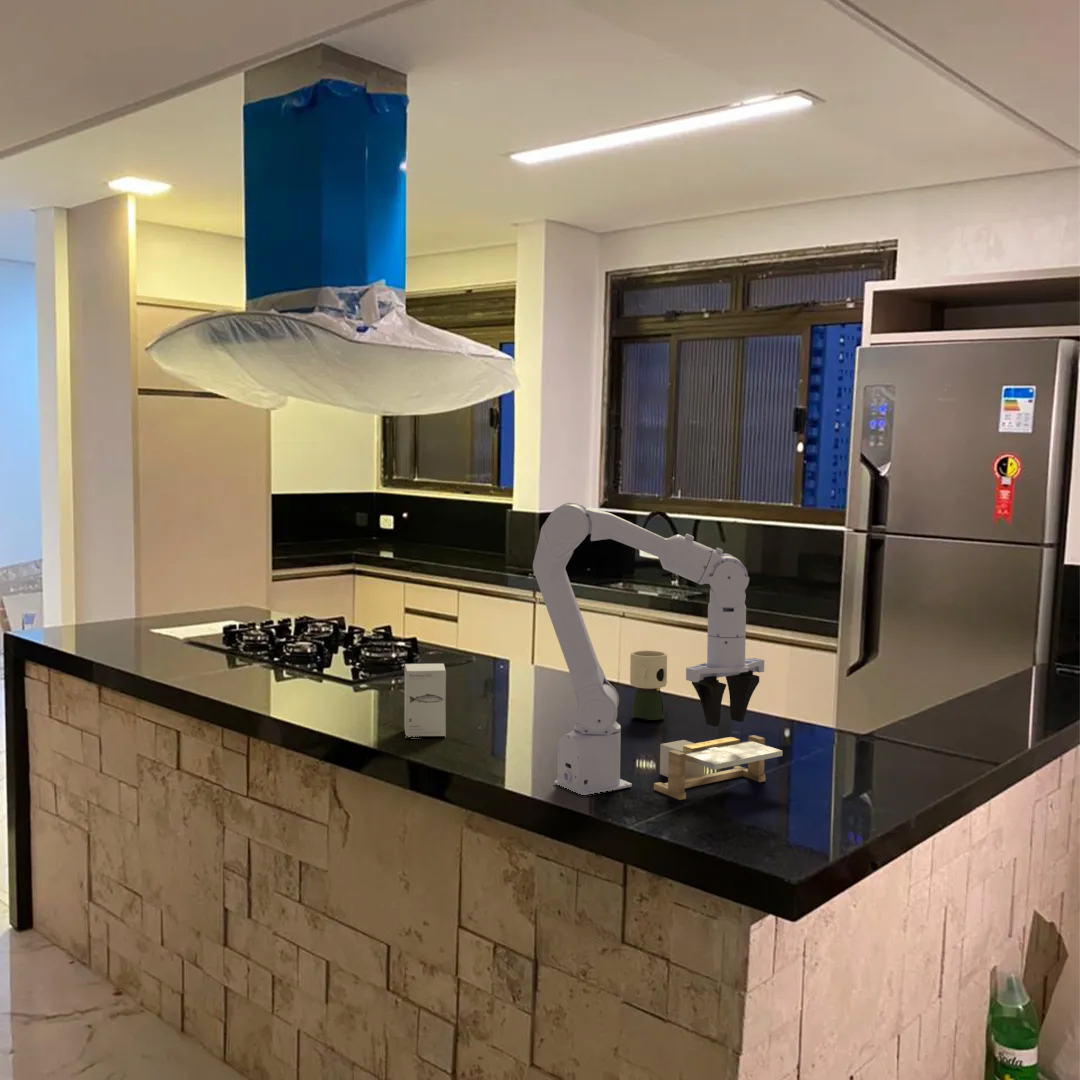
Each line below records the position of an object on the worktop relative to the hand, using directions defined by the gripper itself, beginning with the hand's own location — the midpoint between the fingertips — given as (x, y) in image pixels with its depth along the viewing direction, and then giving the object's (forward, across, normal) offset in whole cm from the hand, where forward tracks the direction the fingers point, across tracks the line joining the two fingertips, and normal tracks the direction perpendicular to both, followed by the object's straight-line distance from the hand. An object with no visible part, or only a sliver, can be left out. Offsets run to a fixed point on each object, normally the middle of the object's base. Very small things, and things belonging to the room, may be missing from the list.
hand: (725, 722), depth 166 cm
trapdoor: (+5, 0, -1) cm, 5 cm away
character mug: (+11, +19, +41) cm, 47 cm away
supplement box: (+10, -23, +55) cm, 60 cm away
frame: (+10, 0, +3) cm, 11 cm away
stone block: (+11, 0, +9) cm, 14 cm away
